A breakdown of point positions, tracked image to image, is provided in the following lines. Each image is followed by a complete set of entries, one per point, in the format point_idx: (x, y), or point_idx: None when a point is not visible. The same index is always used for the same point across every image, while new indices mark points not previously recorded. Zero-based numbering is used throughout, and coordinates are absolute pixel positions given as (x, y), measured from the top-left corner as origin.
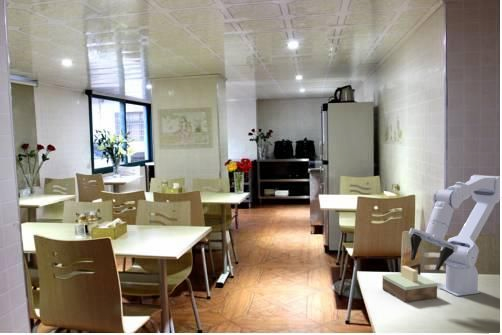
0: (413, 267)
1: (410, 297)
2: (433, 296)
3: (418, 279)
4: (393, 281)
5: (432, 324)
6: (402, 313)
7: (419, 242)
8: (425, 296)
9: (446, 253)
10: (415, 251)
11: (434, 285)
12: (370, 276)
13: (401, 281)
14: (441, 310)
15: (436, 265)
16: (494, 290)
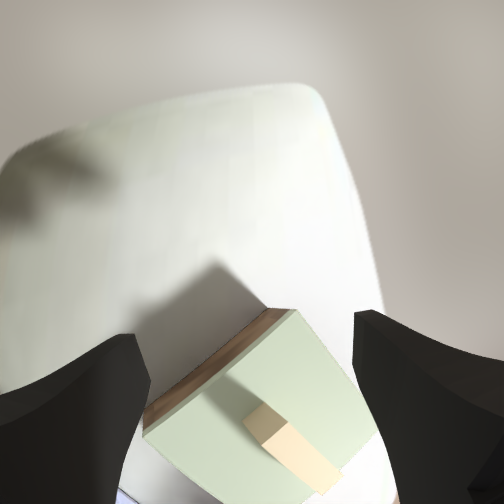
0: None
1: (255, 326)
2: (157, 401)
3: (237, 452)
4: (345, 376)
5: (177, 133)
6: (272, 196)
7: (471, 394)
8: (191, 377)
9: (3, 413)
10: (403, 337)
11: (155, 423)
12: (375, 493)
13: (316, 384)
14: (128, 273)
15: (139, 410)
16: None
